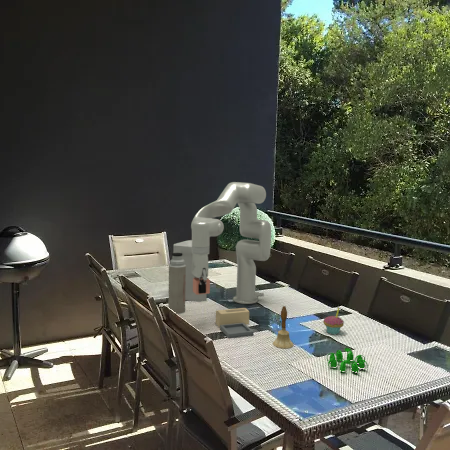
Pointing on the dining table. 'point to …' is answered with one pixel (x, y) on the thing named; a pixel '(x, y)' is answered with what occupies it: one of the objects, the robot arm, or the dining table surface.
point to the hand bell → (283, 333)
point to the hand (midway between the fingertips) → (200, 290)
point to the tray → (236, 330)
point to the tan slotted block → (232, 316)
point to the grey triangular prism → (188, 271)
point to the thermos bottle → (177, 283)
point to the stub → (196, 286)
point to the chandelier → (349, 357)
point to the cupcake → (333, 323)
